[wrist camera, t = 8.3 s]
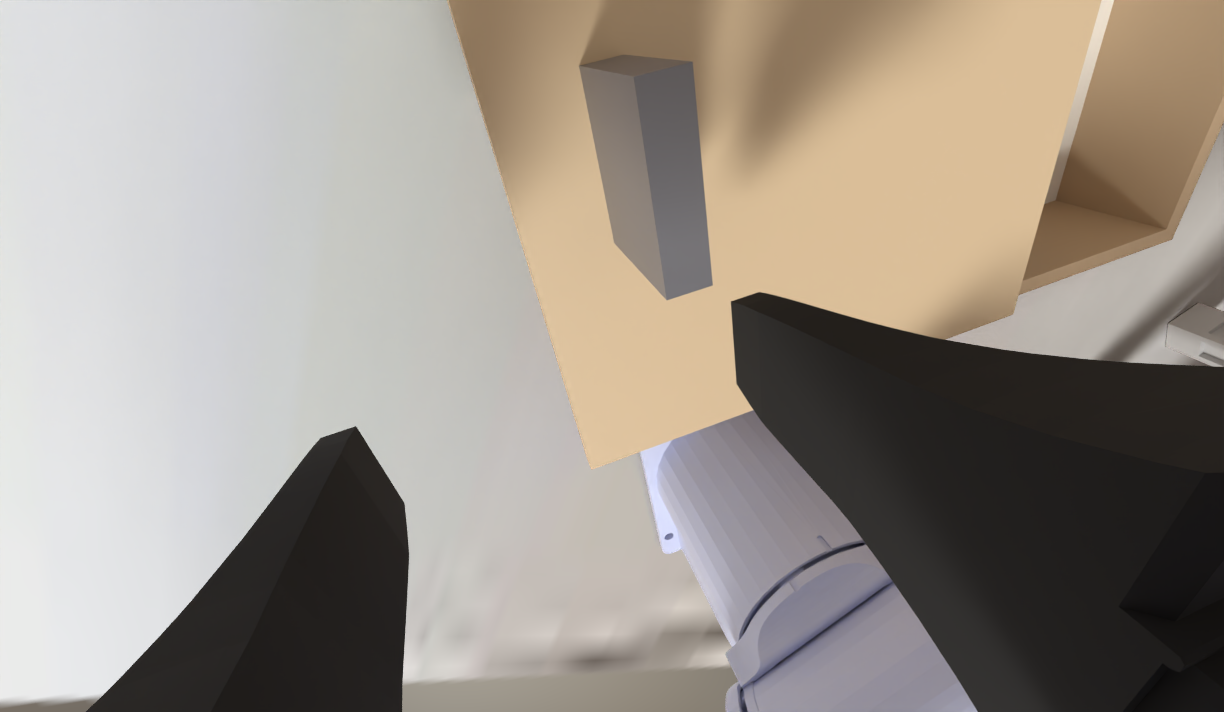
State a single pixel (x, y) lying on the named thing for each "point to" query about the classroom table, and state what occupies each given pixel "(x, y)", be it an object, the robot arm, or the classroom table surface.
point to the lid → (763, 175)
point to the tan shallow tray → (1132, 135)
